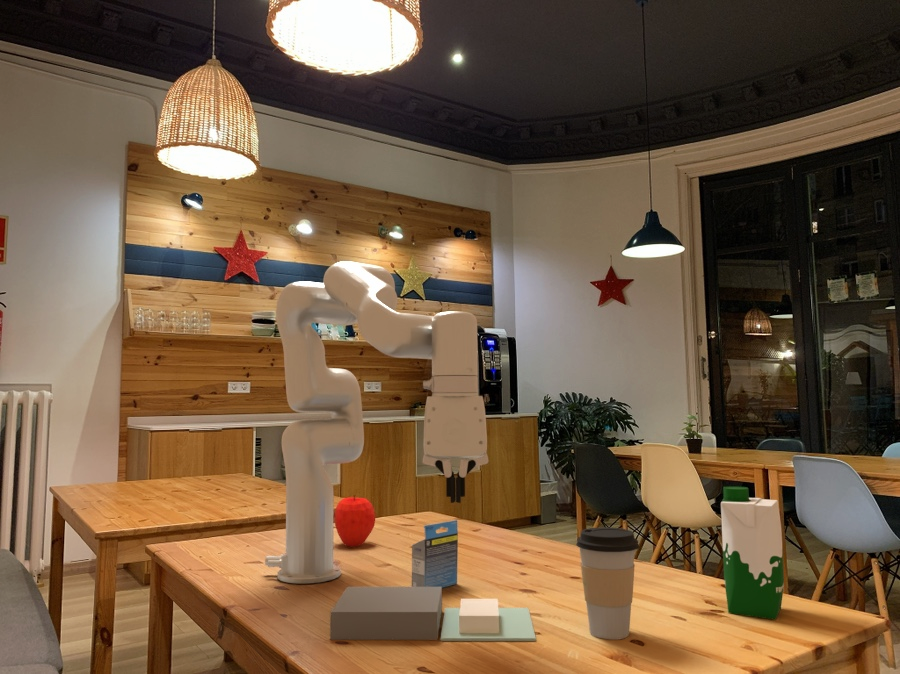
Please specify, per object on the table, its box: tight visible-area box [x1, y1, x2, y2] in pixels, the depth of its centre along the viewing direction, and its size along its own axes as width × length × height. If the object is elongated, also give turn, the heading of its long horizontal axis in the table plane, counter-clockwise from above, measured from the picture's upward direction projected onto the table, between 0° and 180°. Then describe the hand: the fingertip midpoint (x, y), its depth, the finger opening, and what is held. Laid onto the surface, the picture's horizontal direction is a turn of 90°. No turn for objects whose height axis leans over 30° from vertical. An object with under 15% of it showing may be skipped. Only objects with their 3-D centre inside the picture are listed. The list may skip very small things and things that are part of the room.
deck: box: [329, 586, 443, 641], centre depth 110 cm, size 16×14×4 cm
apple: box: [334, 494, 376, 548], centre depth 171 cm, size 10×10×12 cm
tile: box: [459, 598, 499, 633], centre depth 109 cm, size 6×9×2 cm, turn 177°
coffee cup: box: [575, 526, 640, 641], centre depth 106 cm, size 9×9×15 cm
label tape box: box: [411, 519, 459, 589], centre depth 132 cm, size 9×4×12 cm, turn 135°
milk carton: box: [720, 485, 785, 621], centre depth 116 cm, size 9×9×20 cm
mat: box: [440, 607, 537, 642], centre depth 110 cm, size 14×15×1 cm
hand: (455, 501), depth 112 cm, fingers closed
